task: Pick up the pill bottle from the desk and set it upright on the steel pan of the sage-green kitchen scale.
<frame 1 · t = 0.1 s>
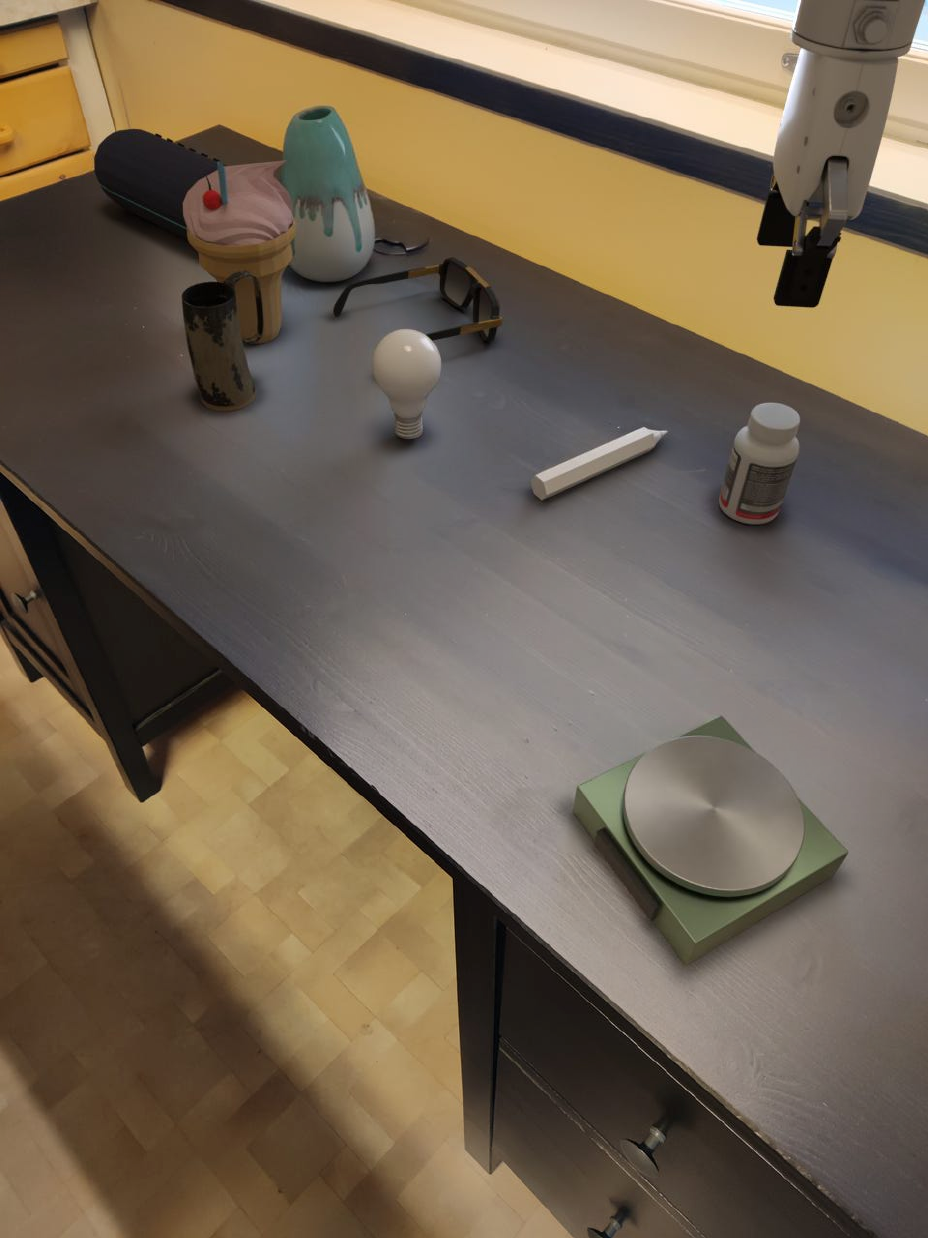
hand: (785, 273, 72), 20 cm above the table, tool pointing down, fingers open, 9 cm apart
portable speaker: (185, 230, 121), on the table
scale: (700, 842, 60), on the table
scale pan: (712, 811, 58), point 4 cm above the table, slide at 0.0 cm
sunglasses: (419, 332, 104), on the table
mug: (238, 394, 95), on the table
white pencil: (604, 468, 87), on the table
vase: (330, 271, 113), on the table
lightbulb: (409, 437, 90), on the table
pill bottle: (747, 508, 84), on the table
ice cream cone: (258, 334, 103), on the table
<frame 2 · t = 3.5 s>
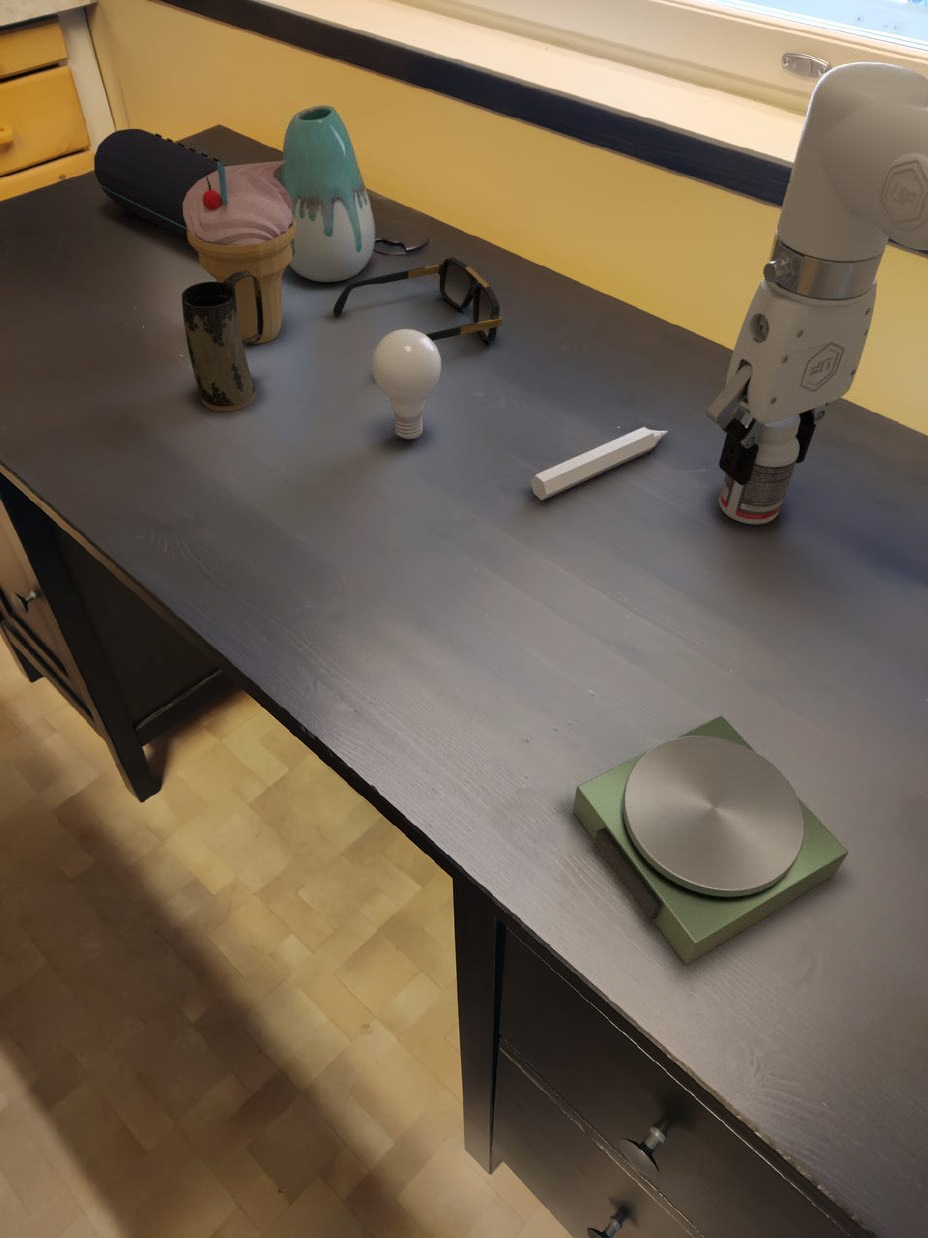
hand: (761, 463, 80), 5 cm above the table, tool pointing down, fingers closed on pill bottle, 5 cm apart
pill bottle: (747, 508, 84), on the table, touching gripper
everything else where it was.
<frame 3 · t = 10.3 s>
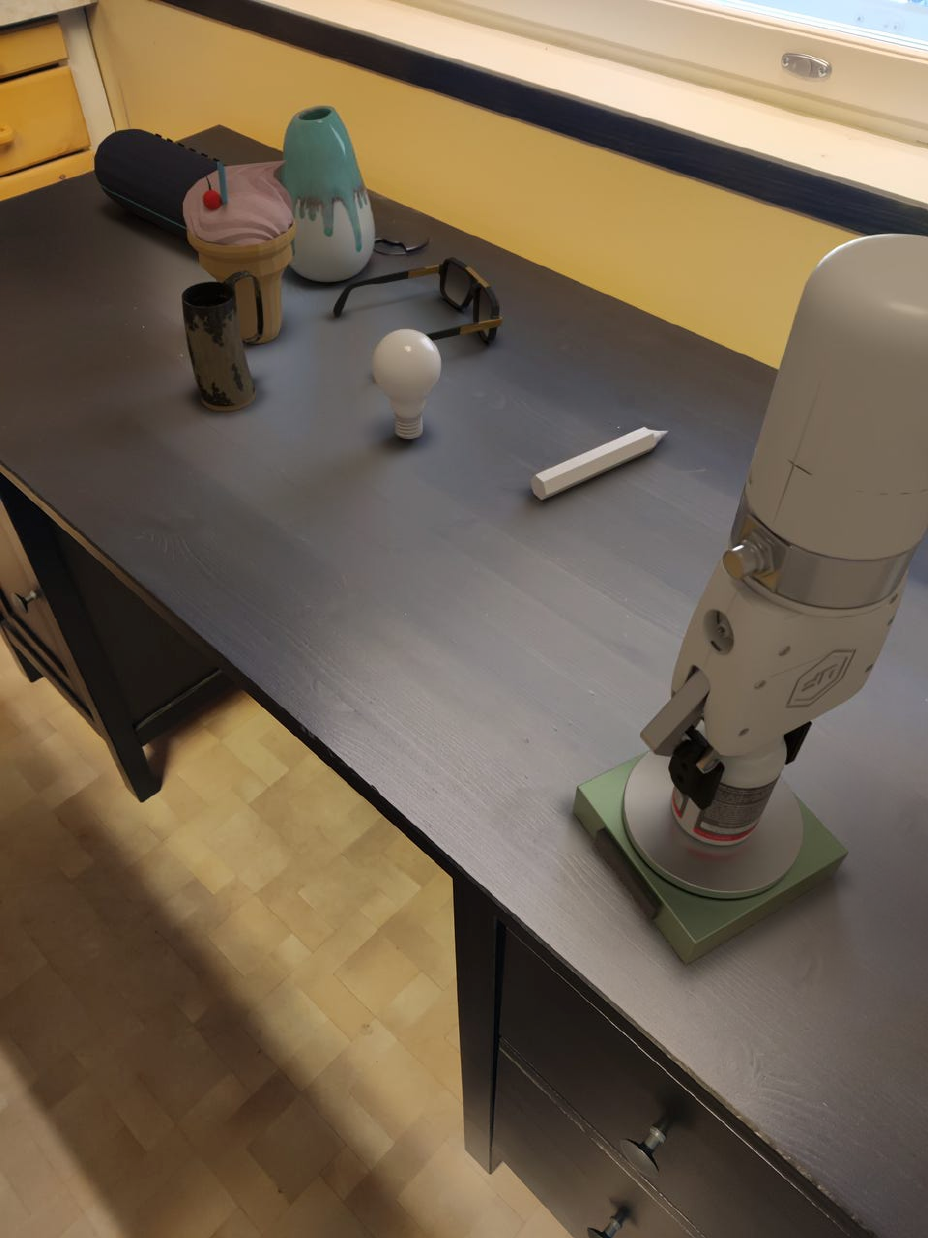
hand: (731, 765, 54), 9 cm above the table, tool pointing down, fingers closed on pill bottle, 5 cm apart
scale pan: (711, 813, 58), point 4 cm above the table, slide at -0.2 cm, touching pill bottle
pill bottle: (712, 811, 58), point 4 cm above the table, touching gripper, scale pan
everything else where it was.
when the fingers open (9 cm above the table, at t = 10.4 s): pill bottle stays where it is, resting on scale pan.
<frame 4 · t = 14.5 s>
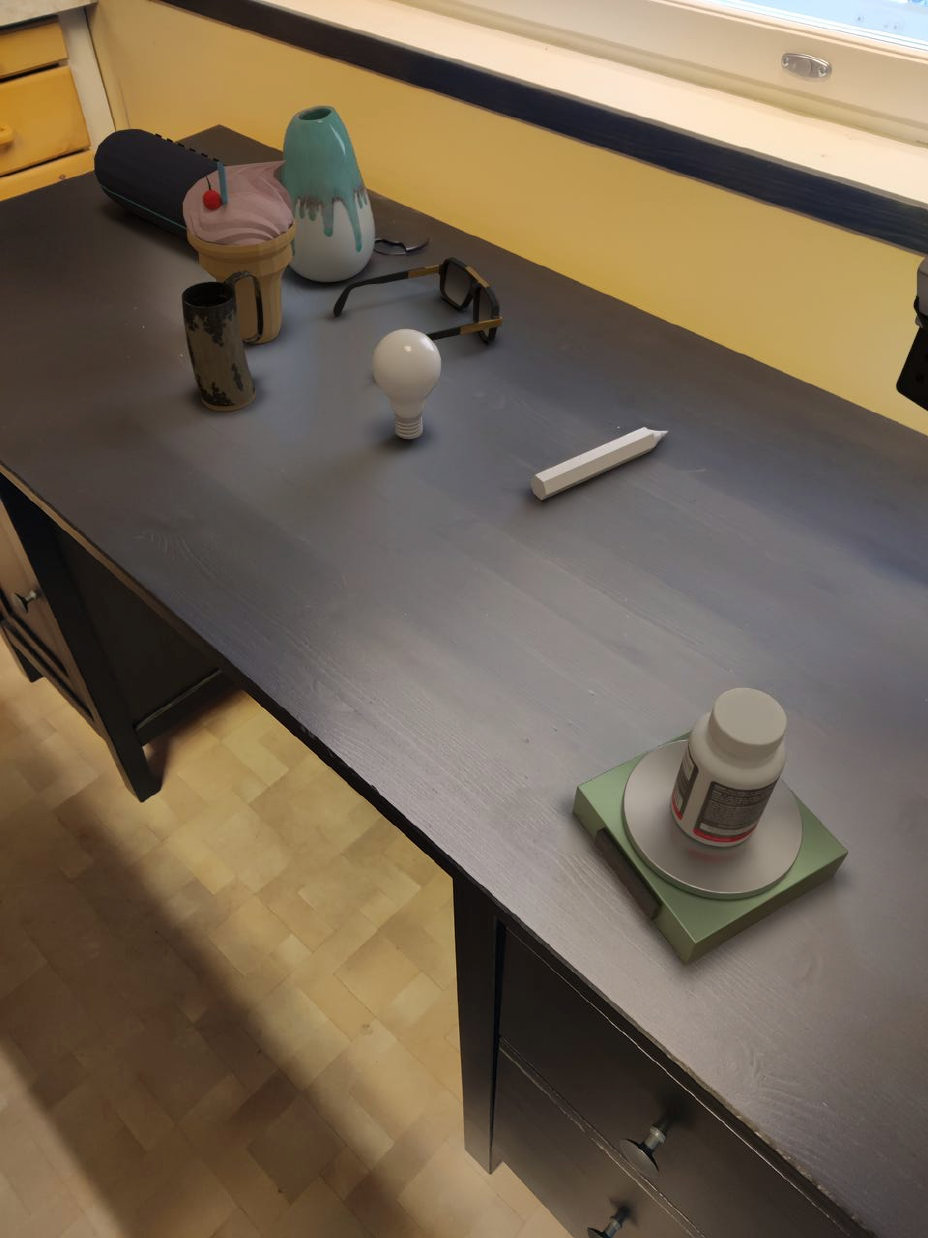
pill bottle: (711, 812, 58), point 4 cm above the table, touching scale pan
everything else where it was.
at the end: pill bottle inside the target area on the scale (0.0 cm from its centre), point 3.6 cm above the scale's base; pill bottle tilted 0°; the gripper is holding nothing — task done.
